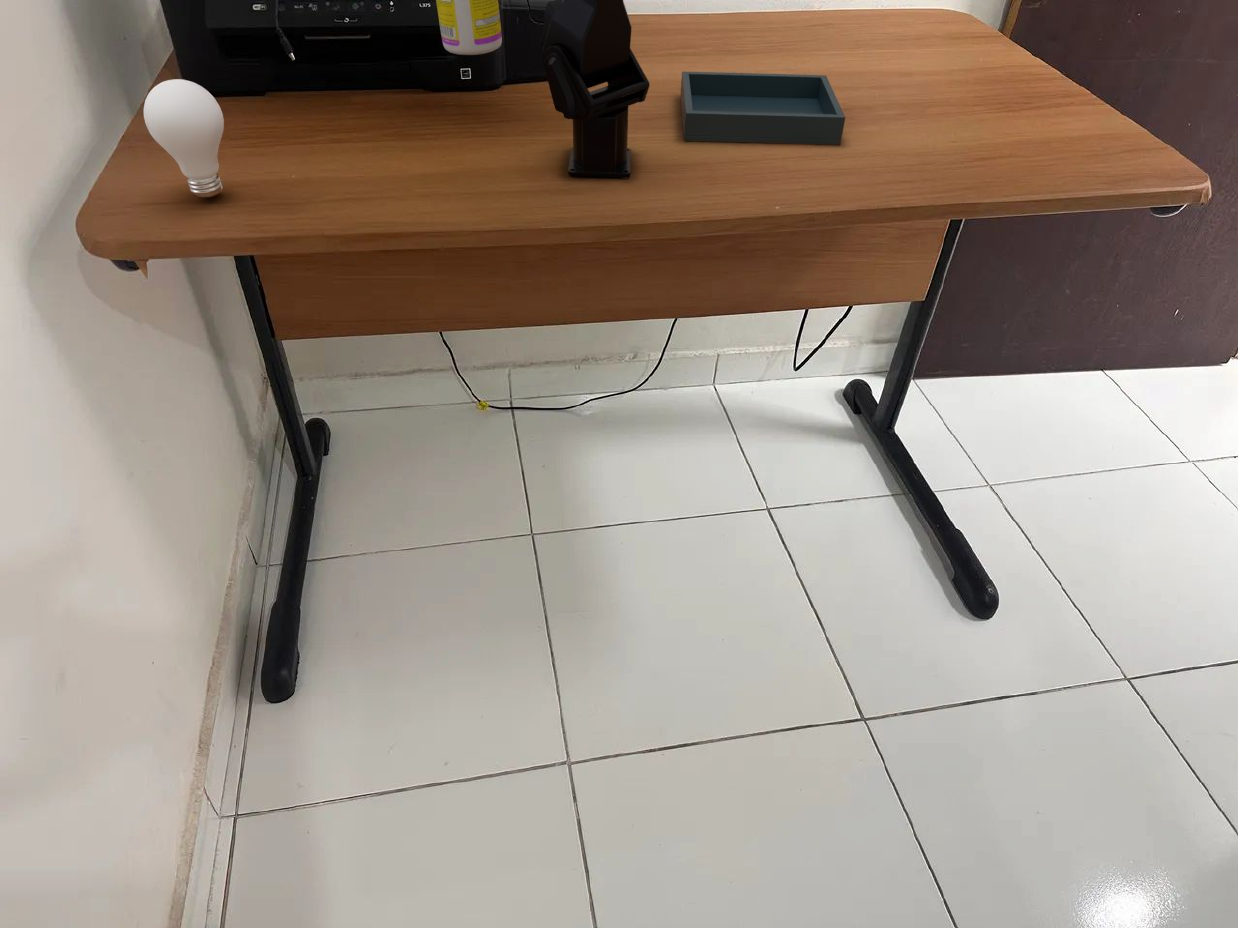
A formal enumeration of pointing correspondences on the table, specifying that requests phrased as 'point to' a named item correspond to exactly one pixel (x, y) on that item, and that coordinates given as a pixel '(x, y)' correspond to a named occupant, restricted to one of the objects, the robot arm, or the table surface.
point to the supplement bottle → (469, 26)
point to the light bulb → (188, 131)
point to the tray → (760, 108)
